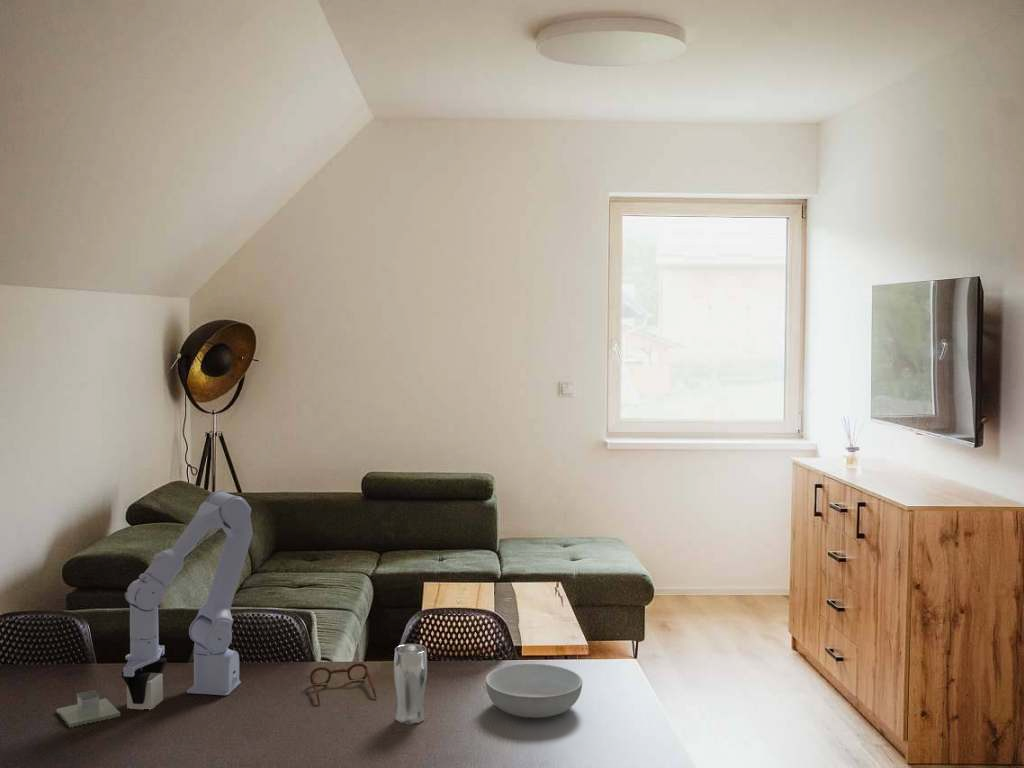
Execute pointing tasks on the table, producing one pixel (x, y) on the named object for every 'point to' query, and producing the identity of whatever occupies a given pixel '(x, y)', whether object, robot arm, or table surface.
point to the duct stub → (88, 710)
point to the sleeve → (149, 693)
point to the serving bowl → (533, 689)
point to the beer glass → (410, 682)
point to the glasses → (337, 672)
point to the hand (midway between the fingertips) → (145, 697)
